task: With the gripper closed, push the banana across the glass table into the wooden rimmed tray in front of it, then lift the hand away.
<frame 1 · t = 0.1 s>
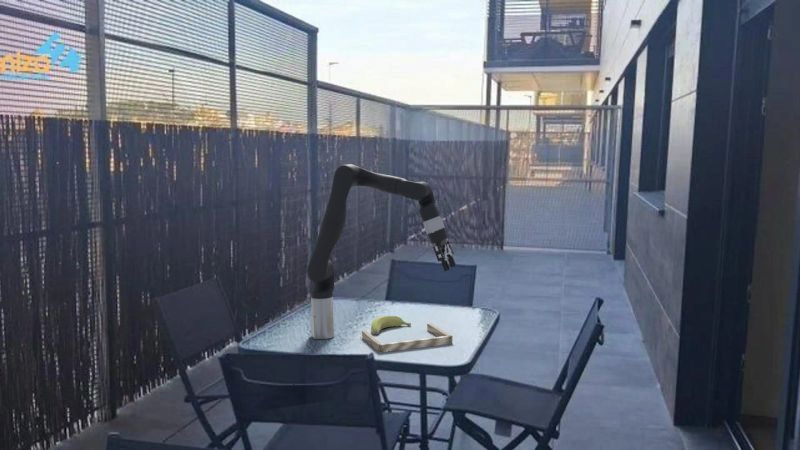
hand: (450, 268, 272), 31 cm above the table, tool tilted 20°, fingers open, 8 cm apart
banana: (391, 330, 305), on the table
wooden rimmed tray: (405, 340, 286), on the table
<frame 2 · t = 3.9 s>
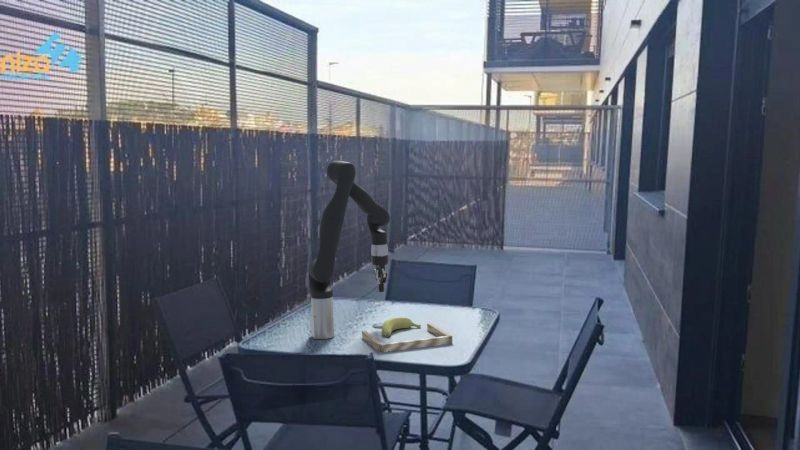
hand: (381, 291, 315), 14 cm above the table, tool pointing down, fingers closed
banana: (401, 332, 301), on the table
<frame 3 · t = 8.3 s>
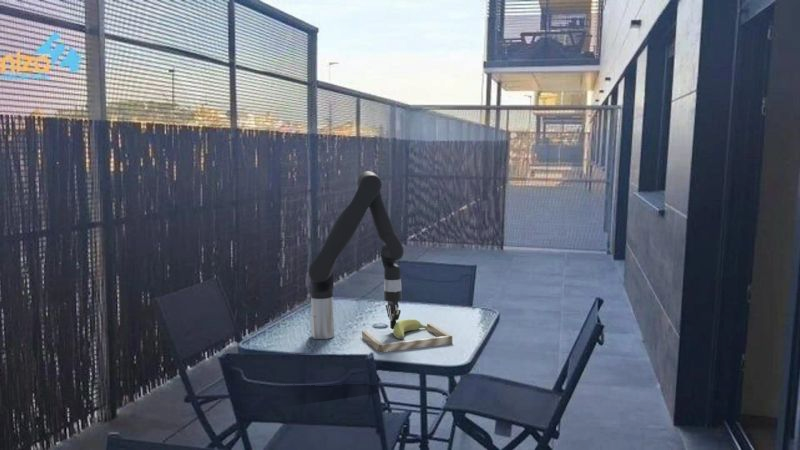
hand: (393, 328, 300), 1 cm above the table, tool pointing down, fingers closed
banana: (411, 334, 297), on the table, touching wooden rimmed tray
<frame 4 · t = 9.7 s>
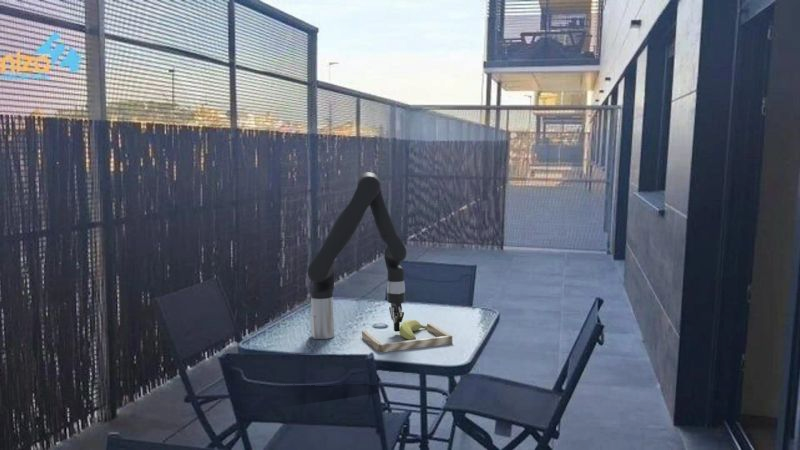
hand: (396, 331, 296), 1 cm above the table, tool pointing down, fingers closed
banana: (415, 335, 296), on the table
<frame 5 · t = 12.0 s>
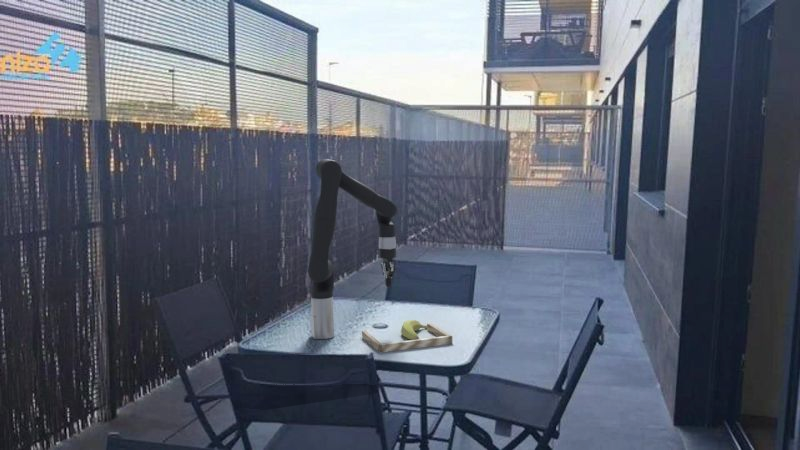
hand: (388, 286, 303), 19 cm above the table, tool pointing down, fingers closed
banana: (417, 334, 296), on the table, touching wooden rimmed tray
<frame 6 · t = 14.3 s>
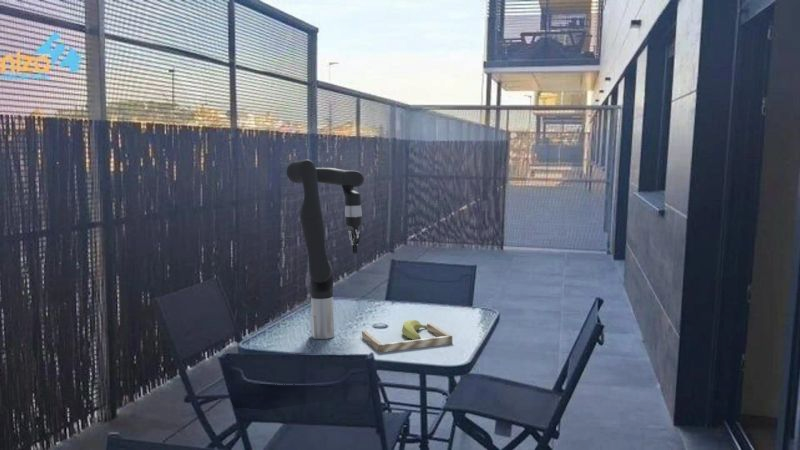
hand: (354, 253, 315), 32 cm above the table, tool pointing down, fingers closed
banana: (417, 334, 296), on the table
at the end: banana inside the target area on the wooden rimmed tray (11.2 cm from its centre), point -0.5 cm above the wooden rimmed tray's base; banana moved 14.9 cm from its start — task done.
